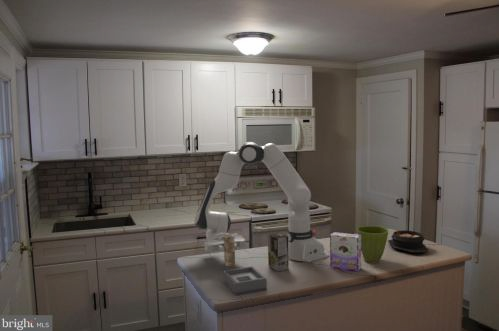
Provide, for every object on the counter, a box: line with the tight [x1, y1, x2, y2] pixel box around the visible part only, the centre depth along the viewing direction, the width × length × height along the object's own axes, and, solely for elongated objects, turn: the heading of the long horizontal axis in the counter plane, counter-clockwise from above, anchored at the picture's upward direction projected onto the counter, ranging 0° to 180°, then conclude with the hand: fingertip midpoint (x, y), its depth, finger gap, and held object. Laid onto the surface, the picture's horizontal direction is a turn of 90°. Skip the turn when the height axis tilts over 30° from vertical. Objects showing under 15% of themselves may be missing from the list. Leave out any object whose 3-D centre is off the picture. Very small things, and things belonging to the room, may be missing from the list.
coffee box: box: [267, 232, 290, 272], centre depth 199 cm, size 9×6×16 cm
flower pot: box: [356, 225, 389, 264], centre depth 206 cm, size 15×15×16 cm
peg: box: [223, 235, 236, 268], centre depth 196 cm, size 4×4×14 cm
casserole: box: [387, 230, 430, 254], centre depth 224 cm, size 25×19×8 cm
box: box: [222, 266, 268, 296], centre depth 178 cm, size 14×16×5 cm
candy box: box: [329, 231, 362, 272], centre depth 196 cm, size 14×6×16 cm, turn 59°
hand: (229, 248), depth 195 cm, fingers closed on peg, 4 cm apart
